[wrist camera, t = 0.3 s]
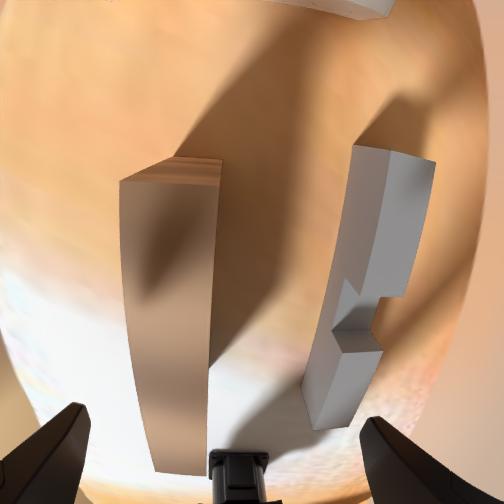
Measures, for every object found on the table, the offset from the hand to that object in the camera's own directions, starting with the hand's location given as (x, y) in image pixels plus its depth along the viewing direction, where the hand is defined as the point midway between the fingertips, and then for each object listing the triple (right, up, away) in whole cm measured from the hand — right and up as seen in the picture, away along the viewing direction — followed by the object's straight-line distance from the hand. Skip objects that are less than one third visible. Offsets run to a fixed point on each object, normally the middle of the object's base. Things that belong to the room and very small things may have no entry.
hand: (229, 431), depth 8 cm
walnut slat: (-3, +4, +13) cm, 13 cm away
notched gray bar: (+7, +3, +14) cm, 16 cm away
